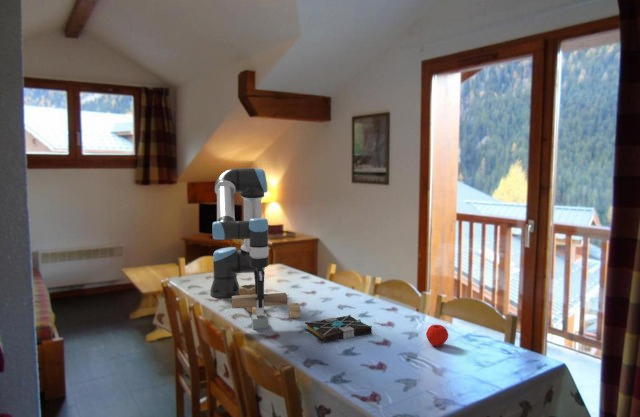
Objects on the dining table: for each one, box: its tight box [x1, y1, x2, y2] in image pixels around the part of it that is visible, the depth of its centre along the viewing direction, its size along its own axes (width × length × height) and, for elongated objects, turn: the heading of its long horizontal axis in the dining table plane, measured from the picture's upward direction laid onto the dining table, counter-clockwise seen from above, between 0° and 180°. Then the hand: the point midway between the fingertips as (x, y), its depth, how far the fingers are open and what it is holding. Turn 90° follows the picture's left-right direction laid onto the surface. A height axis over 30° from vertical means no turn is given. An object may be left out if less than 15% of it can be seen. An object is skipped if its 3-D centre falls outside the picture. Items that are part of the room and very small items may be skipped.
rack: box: [251, 302, 301, 319], centre depth 206 cm, size 5×20×5 cm, turn 103°
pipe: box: [239, 283, 255, 314], centre depth 217 cm, size 9×16×10 cm, turn 25°
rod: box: [231, 292, 288, 309], centre depth 193 cm, size 4×22×4 cm, turn 103°
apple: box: [425, 324, 449, 347], centre depth 174 cm, size 8×8×7 cm
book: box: [304, 314, 373, 344], centre depth 188 cm, size 22×17×5 cm
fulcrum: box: [251, 307, 269, 330], centre depth 194 cm, size 6×6×8 cm
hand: (259, 313), depth 194 cm, fingers closed on rod, 4 cm apart
